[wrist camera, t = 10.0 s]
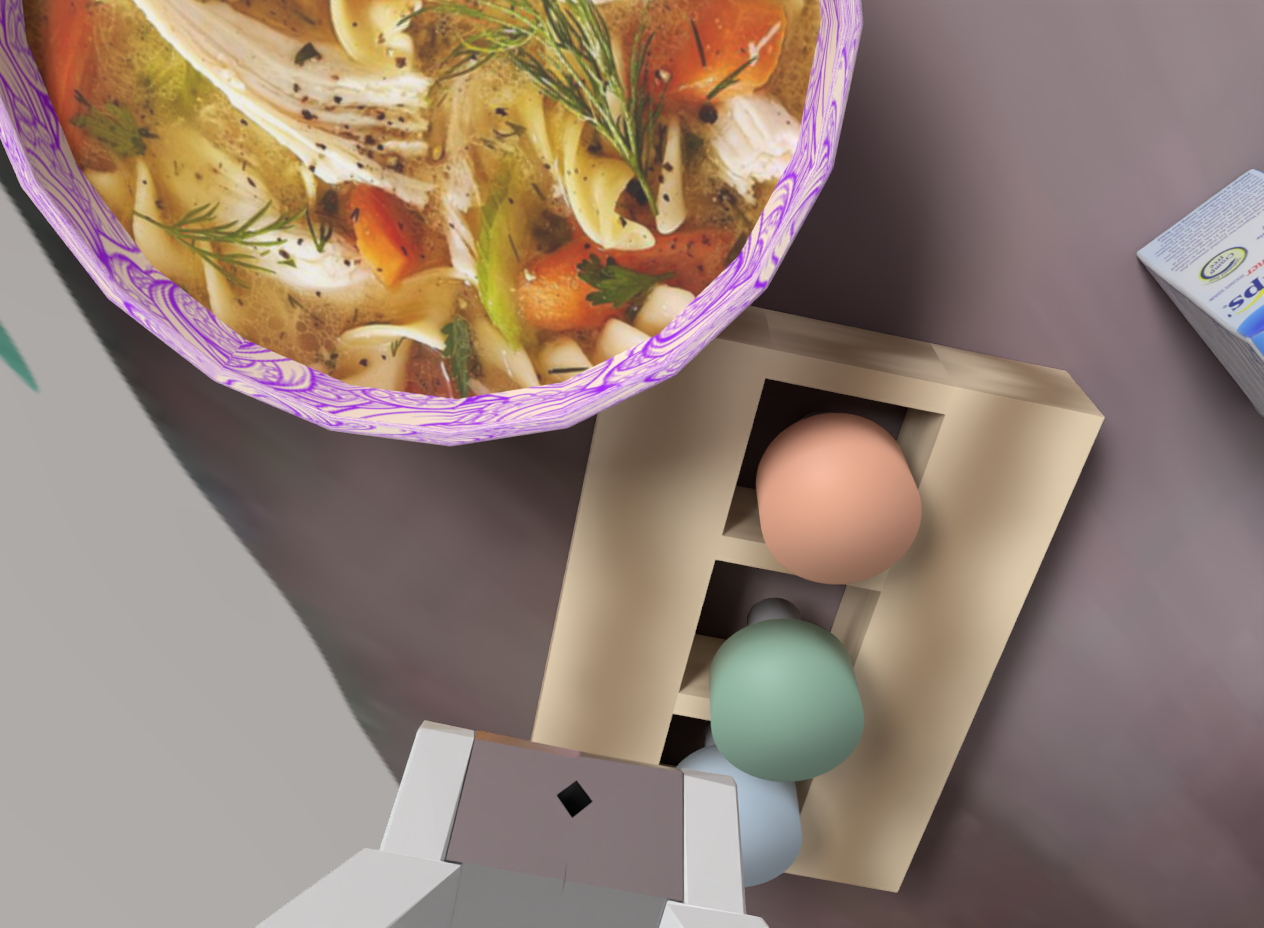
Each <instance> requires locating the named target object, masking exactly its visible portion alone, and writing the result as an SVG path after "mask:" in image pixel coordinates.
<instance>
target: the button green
mask: <svg viewBox="0 0 1264 928" xmlns="http://www.w3.org/2000/svg"><path fill="white" fill-rule="evenodd" d="M709 687H710V714H711V730H712V735H713V739H714V742H715V744H716V746H717V748H718V749H719V751H720V752H721V754H722V755H723V756H724V757H725V758H726V759H727V760H728V761H729V762H730V763H731V764H732V765H733V766H735V767H736V768H738V769H739V770H741V771H743V772H745V773H747V774H749V775H751V776H754V777H757V778H760V779H765V780H769V781H777V782H792V781H801V780H807V779H810V778H814V777H817V776H820V775H822V774H825V773H827V772H828V771H830V770H832V769H834V768H835V767H837V766H838V765H840V764H841V763H842V762H843V761H845V760H846V759H847V758H848V757H849V756H850V754H851V753H852V752H853V751H854V749H855V748H856V746H857V745H858V743H859V741H860V738H861V736H862V732H863V728H864V712H863V708H862V703H861V699H860V694H859V690H858V686H857V681H856V677H855V672H854V668H853V664H852V660H851V657H850V655H849V653H848V651H847V649H846V648H845V646H844V645H843V644H842V643H841V641H840V640H839V639H838V638H837V637H835V636H834V635H833V634H832V633H830V632H829V631H827V630H826V629H824V628H822V627H820V626H818V625H816V624H813V623H810V622H807V621H803V620H801V618H800V613H799V611H798V609H797V608H796V607H795V605H793V604H792V603H791V602H789V601H787V600H785V599H781V598H768V599H764V600H762V601H760V602H758V603H756V604H755V605H754V606H753V607H752V608H751V610H750V611H749V613H748V616H747V627H745V628H743V629H741V630H739V631H738V632H736V633H735V634H733V635H732V636H731V637H729V638H728V639H727V640H726V641H725V642H724V643H723V644H722V646H721V647H720V648H719V650H718V651H717V653H716V655H715V656H714V659H713V661H712V664H711V668H710V674H709Z"/></svg>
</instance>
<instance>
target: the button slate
mask: <svg viewBox="0 0 1264 928" xmlns="http://www.w3.org/2000/svg"><path fill="white" fill-rule="evenodd" d="M704 744H705V747H704V748H702V749H700V750H697V751H695V752H694V753H692V754H690V755H689V756H687V757H686V758H685V759H683V760H682V761H681V762H680V763H679V764H678V766H677V767H676V768H678V769H679V770H681V769H682V768H684V769H690V770H697V771H703V772H709V773H715V774H721V775H727V776H732V777H733V778H734V780H735V782H736V784H737V791H738V805H739V820H740V834H741V848H742V862H743V876H744V887H750V886H755V885H759V884H762V883H765V882H768V881H770V880H772V879H774V878H776V877H777V876H779V875H780V874H782V873H783V872H785V871H786V870H787V869H788V868H789V867H790V866H791V865H792V864H793V862H794V861H795V859H796V858H797V856H798V854H799V852H800V849H801V845H802V829H801V821H800V814H799V806H798V799H797V791H796V784H795V781H792V782H777V781H769V780H765V779H760V778H757V777H754V776H751V775H749V774H747V773H745V772H743V771H741V770H739V769H738V768H736V767H735V766H733V765H732V764H731V763H730V762H729V761H728V760H727V759H726V758H725V757H724V756H723V755H722V754H721V752H720V751H719V749H718V748H717V746H716V744H715V742H714V739H713V735H712V730H711V721H709V722H708V723H707V725H706V727H705V730H704Z"/></svg>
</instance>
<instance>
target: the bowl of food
mask: <svg viewBox="0 0 1264 928" xmlns="http://www.w3.org/2000/svg"><path fill="white" fill-rule="evenodd" d="M863 24H864V23H863V12H862V0H0V138H1V141H2V143H3V145H4V148H5V150H6V152H7V155H8V157H9V159H10V162H11V164H12V166H13V169H14V171H15V173H16V176H17V178H18V180H19V183H20V185H21V187H22V188H23V190H24V191H25V192H26V193H27V195H28V196H29V197H30V199H31V200H32V201H33V202H34V204H35V205H36V206H37V208H38V209H39V210H40V211H41V213H42V214H43V215H44V217H45V218H46V219H47V220H48V222H49V223H50V224H51V226H52V227H53V228H54V229H55V231H56V232H57V233H58V235H59V236H60V237H61V239H62V240H63V241H64V242H65V244H66V245H67V246H68V248H69V249H70V250H71V251H72V253H73V254H74V255H75V257H76V258H77V259H78V260H79V262H80V263H81V264H82V266H83V267H84V268H85V269H86V271H87V272H88V273H89V275H90V276H91V277H92V278H93V280H94V281H95V282H96V284H97V285H98V286H99V288H100V289H101V290H102V291H103V293H104V294H105V295H106V297H107V298H108V299H109V300H110V301H112V302H113V303H114V304H115V305H117V306H118V307H119V308H121V309H122V310H123V311H125V312H126V313H127V314H128V315H130V316H131V317H132V318H134V319H135V320H136V321H137V322H139V323H140V324H141V325H143V326H144V327H145V328H146V329H148V330H149V331H150V332H152V333H153V334H154V335H155V336H157V337H158V338H159V339H161V340H162V341H163V342H164V343H166V344H167V345H168V346H170V347H171V348H172V349H173V350H175V351H176V352H177V353H179V354H180V355H181V356H182V357H184V358H185V359H186V360H188V361H189V362H190V363H192V364H193V365H194V366H195V367H197V368H198V369H199V370H201V371H202V372H203V373H204V374H206V375H207V376H208V377H210V378H211V379H212V380H213V381H215V382H217V383H220V384H222V385H225V386H227V387H229V388H232V389H234V390H236V391H239V392H241V393H243V394H246V395H248V396H250V397H253V398H255V399H257V400H260V401H262V402H264V403H267V404H269V405H272V406H274V407H276V408H279V409H281V410H283V411H286V412H288V413H290V414H293V415H295V416H297V417H300V418H302V419H304V420H307V421H309V422H311V423H314V424H316V425H319V426H321V427H323V428H326V429H328V430H330V431H337V432H345V433H352V434H360V435H368V436H375V437H383V438H390V439H398V440H405V441H413V442H420V443H428V444H435V445H443V446H457V445H463V444H470V443H476V442H483V441H489V440H495V439H502V438H508V437H515V436H521V435H528V434H534V433H540V432H547V431H553V430H560V429H566V428H569V427H571V426H573V425H575V424H577V423H580V422H582V421H584V420H586V419H588V418H590V417H592V416H594V415H596V414H598V413H600V412H602V411H604V410H606V409H608V408H610V407H612V406H614V405H616V404H618V403H621V402H623V401H625V400H627V399H629V398H631V397H633V396H635V395H637V394H639V393H641V392H643V391H645V390H647V389H649V388H651V387H653V386H655V385H657V384H659V383H662V382H664V381H666V380H668V379H670V378H672V377H674V376H676V375H677V374H678V373H679V372H680V371H681V370H682V369H683V368H684V367H685V366H686V365H687V364H688V363H689V362H691V361H692V360H693V359H694V358H695V357H696V356H697V355H698V354H699V353H700V352H701V351H702V350H703V349H704V348H705V347H706V346H707V345H708V344H709V343H711V342H712V341H713V340H714V339H715V338H716V337H717V336H718V335H719V334H720V333H721V332H722V331H723V330H724V329H725V328H726V327H727V326H728V325H729V324H731V323H732V322H733V321H734V320H735V319H736V318H737V317H738V316H739V315H740V314H741V313H742V312H743V311H744V310H745V309H746V308H747V307H748V306H749V305H750V304H752V303H753V302H754V301H755V300H756V299H757V298H758V297H759V296H760V295H761V294H762V293H763V292H764V291H765V290H766V289H767V288H768V286H769V284H770V283H771V281H772V279H773V277H774V275H775V273H776V272H777V270H778V268H779V266H780V264H781V263H782V261H783V259H784V257H785V255H786V254H787V252H788V250H789V248H790V246H791V245H792V243H793V241H794V239H795V237H796V236H797V234H798V232H799V230H800V228H801V226H802V225H803V223H804V221H805V219H806V217H807V216H808V214H809V212H810V210H811V208H812V207H813V205H814V203H815V201H816V199H817V198H818V196H819V194H820V192H821V190H822V189H823V187H824V185H825V183H826V181H827V180H828V178H829V176H830V174H831V172H832V170H833V167H834V162H835V158H836V153H837V148H838V143H839V138H840V134H841V129H842V124H843V119H844V115H845V110H846V105H847V100H848V95H849V91H850V86H851V81H852V76H853V72H854V67H855V62H856V57H857V53H858V48H859V43H860V38H861V33H862V29H863Z"/></svg>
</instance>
